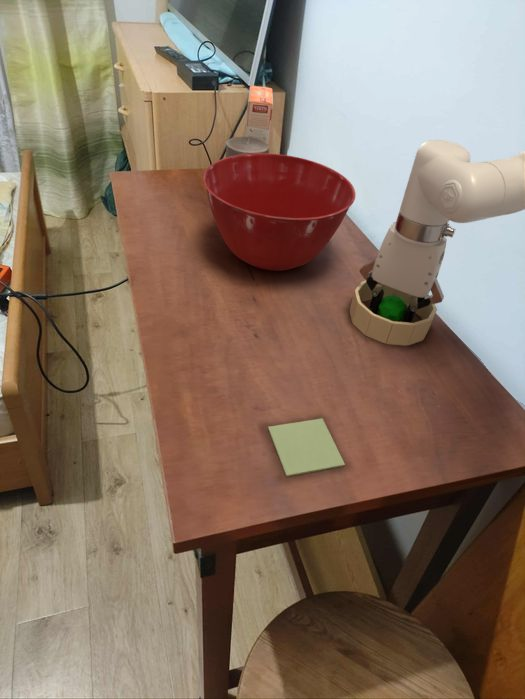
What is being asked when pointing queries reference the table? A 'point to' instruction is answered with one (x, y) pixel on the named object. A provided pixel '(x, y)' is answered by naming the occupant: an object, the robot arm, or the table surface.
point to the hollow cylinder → (384, 327)
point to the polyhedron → (392, 308)
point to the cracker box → (259, 113)
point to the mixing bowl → (276, 207)
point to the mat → (305, 447)
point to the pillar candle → (245, 146)
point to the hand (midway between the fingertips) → (389, 317)
